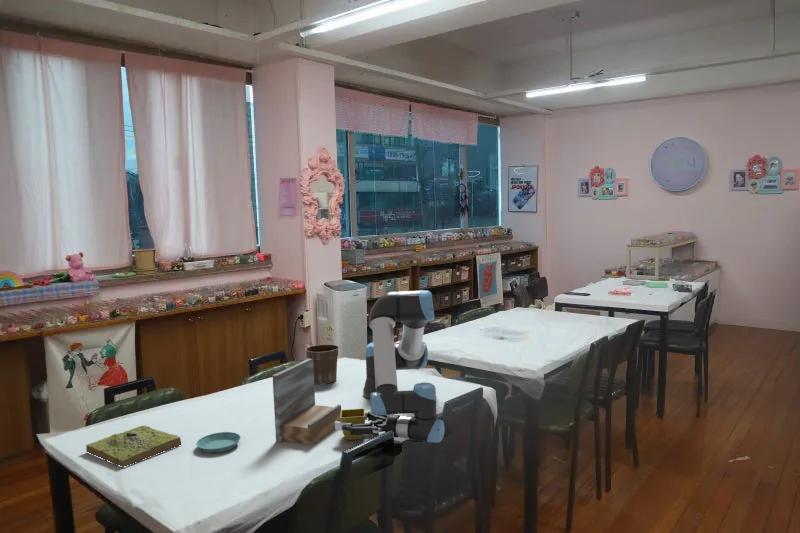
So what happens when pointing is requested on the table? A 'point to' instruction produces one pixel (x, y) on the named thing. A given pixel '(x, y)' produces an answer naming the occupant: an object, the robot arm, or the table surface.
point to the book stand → (300, 406)
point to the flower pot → (352, 420)
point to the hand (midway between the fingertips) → (343, 419)
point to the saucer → (218, 442)
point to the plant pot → (323, 362)
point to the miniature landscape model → (133, 445)
